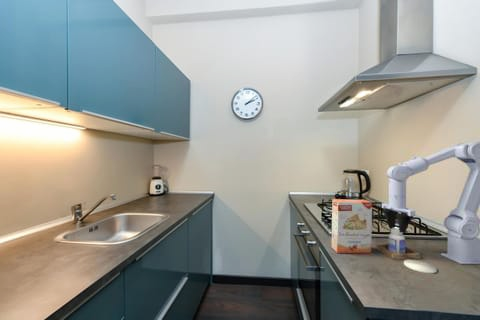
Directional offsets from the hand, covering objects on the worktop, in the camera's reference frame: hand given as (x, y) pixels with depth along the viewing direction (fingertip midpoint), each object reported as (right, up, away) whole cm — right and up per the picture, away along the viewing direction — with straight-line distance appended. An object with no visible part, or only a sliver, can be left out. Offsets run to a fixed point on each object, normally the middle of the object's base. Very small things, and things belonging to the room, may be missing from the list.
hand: (397, 229), depth 89 cm
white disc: (0, -10, -11) cm, 15 cm away
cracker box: (-17, -10, +2) cm, 20 cm away
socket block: (0, -10, 0) cm, 10 cm away
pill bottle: (0, -10, 0) cm, 10 cm away
